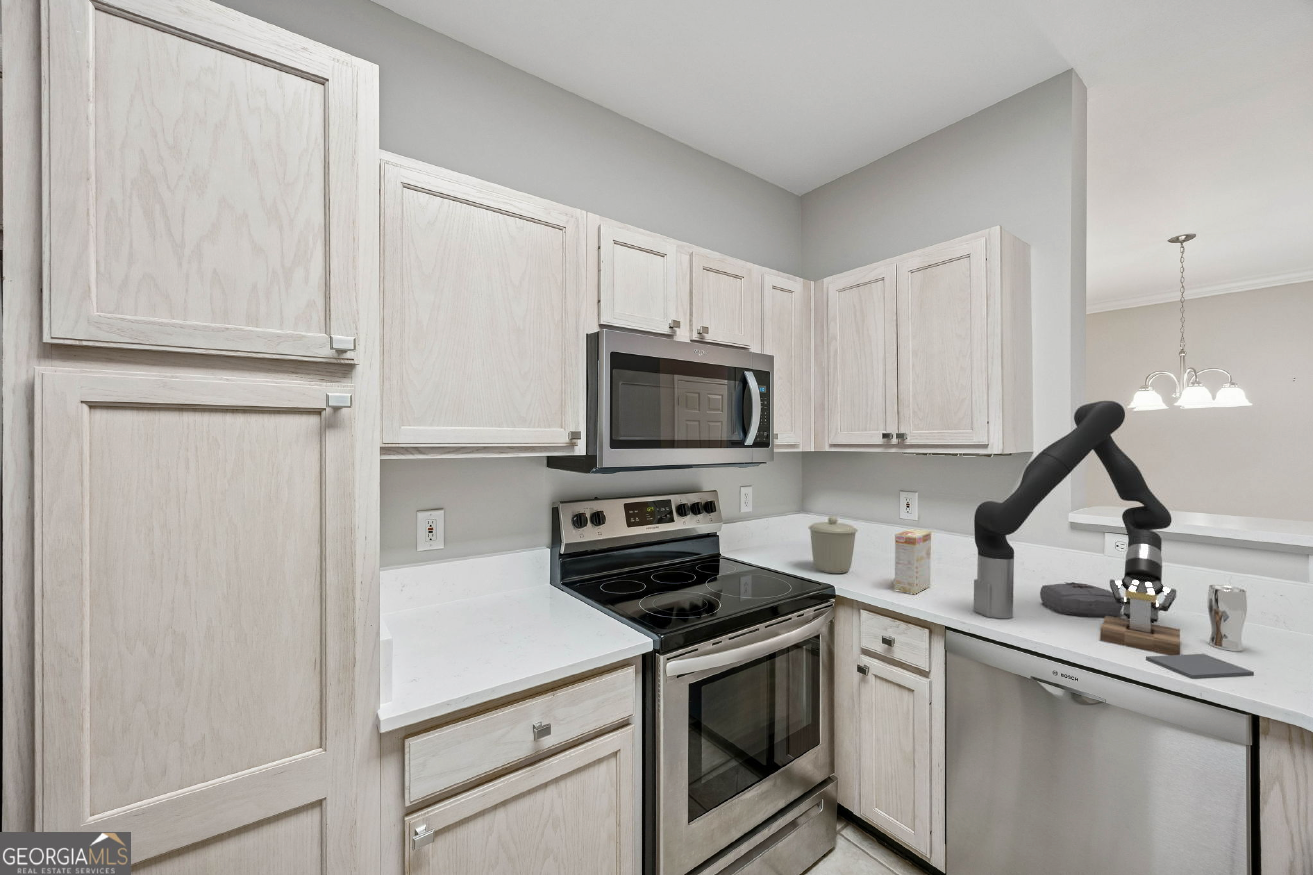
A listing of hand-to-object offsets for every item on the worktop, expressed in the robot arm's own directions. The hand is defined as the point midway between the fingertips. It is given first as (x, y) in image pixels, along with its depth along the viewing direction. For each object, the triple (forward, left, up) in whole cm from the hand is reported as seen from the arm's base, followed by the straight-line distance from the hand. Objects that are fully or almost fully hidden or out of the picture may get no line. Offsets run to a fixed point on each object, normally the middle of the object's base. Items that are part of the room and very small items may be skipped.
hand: (1140, 619), depth 141 cm
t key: (+2, +1, -6) cm, 6 cm away
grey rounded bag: (+8, +25, -6) cm, 27 cm away
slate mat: (-1, -15, -6) cm, 16 cm away
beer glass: (+20, -5, -6) cm, 21 cm away
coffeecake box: (-30, +51, -6) cm, 60 cm away
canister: (-47, +77, -6) cm, 91 cm away
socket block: (+2, +1, -6) cm, 6 cm away
